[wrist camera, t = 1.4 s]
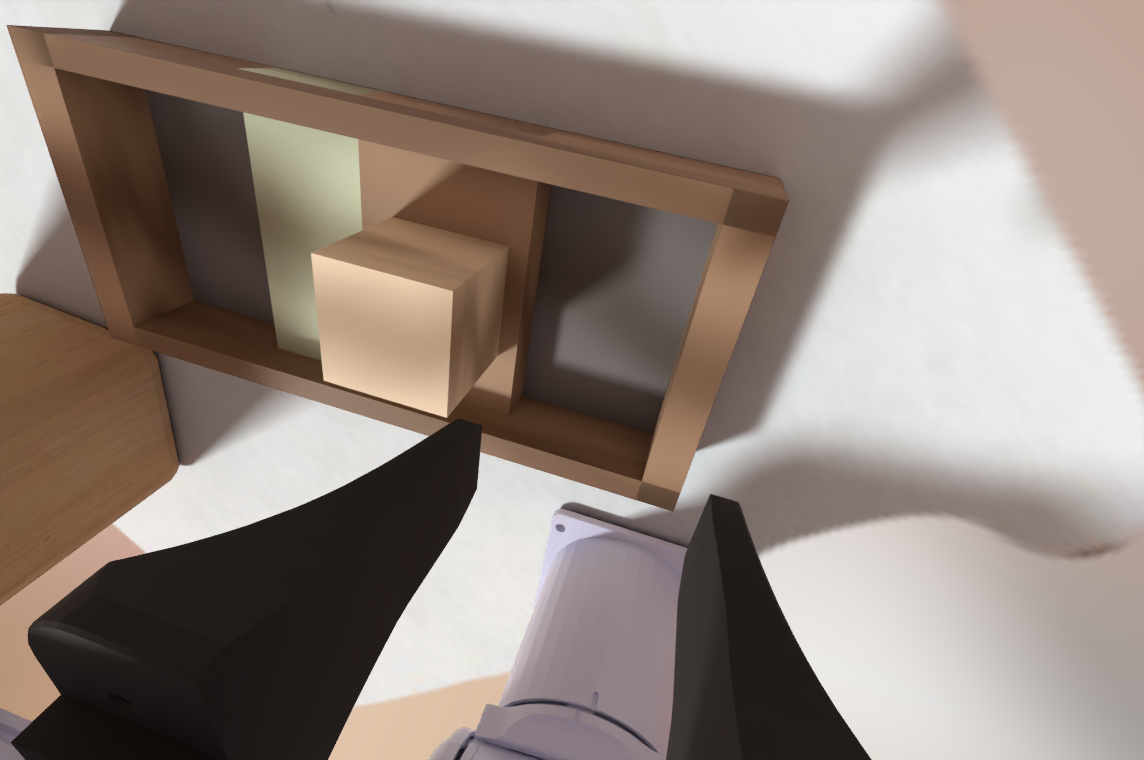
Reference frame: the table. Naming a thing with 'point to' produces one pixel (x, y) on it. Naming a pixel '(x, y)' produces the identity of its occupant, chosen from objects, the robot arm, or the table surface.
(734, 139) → the table surface
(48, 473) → the wooden block
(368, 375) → the maple block
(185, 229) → the box
